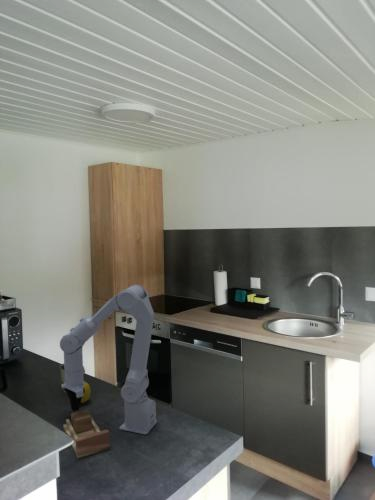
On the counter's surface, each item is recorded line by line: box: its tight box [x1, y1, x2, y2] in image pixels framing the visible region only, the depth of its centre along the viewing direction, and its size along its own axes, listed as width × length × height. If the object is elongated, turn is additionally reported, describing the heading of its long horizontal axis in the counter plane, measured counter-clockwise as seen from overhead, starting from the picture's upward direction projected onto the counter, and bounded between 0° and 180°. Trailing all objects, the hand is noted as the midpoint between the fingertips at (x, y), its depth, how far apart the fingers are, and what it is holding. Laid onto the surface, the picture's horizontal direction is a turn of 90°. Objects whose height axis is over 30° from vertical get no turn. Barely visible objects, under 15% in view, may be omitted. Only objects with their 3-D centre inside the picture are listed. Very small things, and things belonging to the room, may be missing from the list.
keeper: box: [70, 409, 93, 433], centre depth 117 cm, size 5×5×4 cm
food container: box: [59, 363, 86, 393], centre depth 144 cm, size 12×6×10 cm, turn 47°
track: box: [62, 417, 111, 460], centre depth 113 cm, size 18×9×5 cm, turn 30°
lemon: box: [81, 381, 92, 404], centre depth 135 cm, size 6×6×8 cm
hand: (75, 409), depth 123 cm, fingers closed
